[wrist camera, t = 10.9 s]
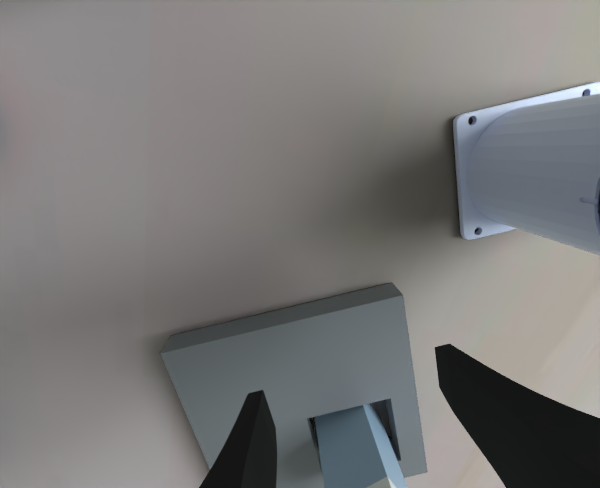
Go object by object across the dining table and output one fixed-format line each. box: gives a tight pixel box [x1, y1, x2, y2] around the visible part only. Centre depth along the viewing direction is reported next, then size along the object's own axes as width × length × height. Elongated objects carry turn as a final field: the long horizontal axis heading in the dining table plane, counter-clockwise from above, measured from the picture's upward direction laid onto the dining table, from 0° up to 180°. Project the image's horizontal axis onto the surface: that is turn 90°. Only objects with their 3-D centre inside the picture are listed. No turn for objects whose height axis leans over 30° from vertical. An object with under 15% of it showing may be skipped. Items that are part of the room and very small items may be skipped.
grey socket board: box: [160, 283, 427, 488], centre depth 23 cm, size 16×16×2 cm
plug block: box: [315, 404, 408, 488], centre depth 21 cm, size 4×4×8 cm
